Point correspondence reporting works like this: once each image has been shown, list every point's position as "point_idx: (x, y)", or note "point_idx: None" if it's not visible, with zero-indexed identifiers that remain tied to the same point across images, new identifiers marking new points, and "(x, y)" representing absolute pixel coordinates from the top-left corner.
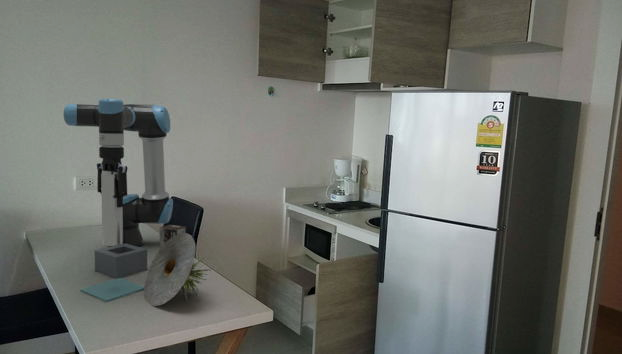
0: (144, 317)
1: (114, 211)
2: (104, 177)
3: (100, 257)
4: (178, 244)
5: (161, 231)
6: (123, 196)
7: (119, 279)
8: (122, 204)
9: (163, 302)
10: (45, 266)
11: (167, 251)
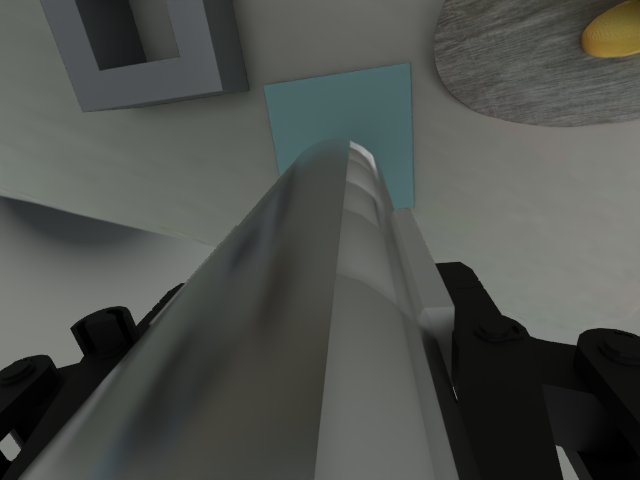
0: (589, 186)
1: None
2: None
3: (133, 105)
4: None
5: None
6: (558, 351)
7: (278, 94)
8: (476, 279)
9: (616, 120)
10: (27, 200)
11: None
